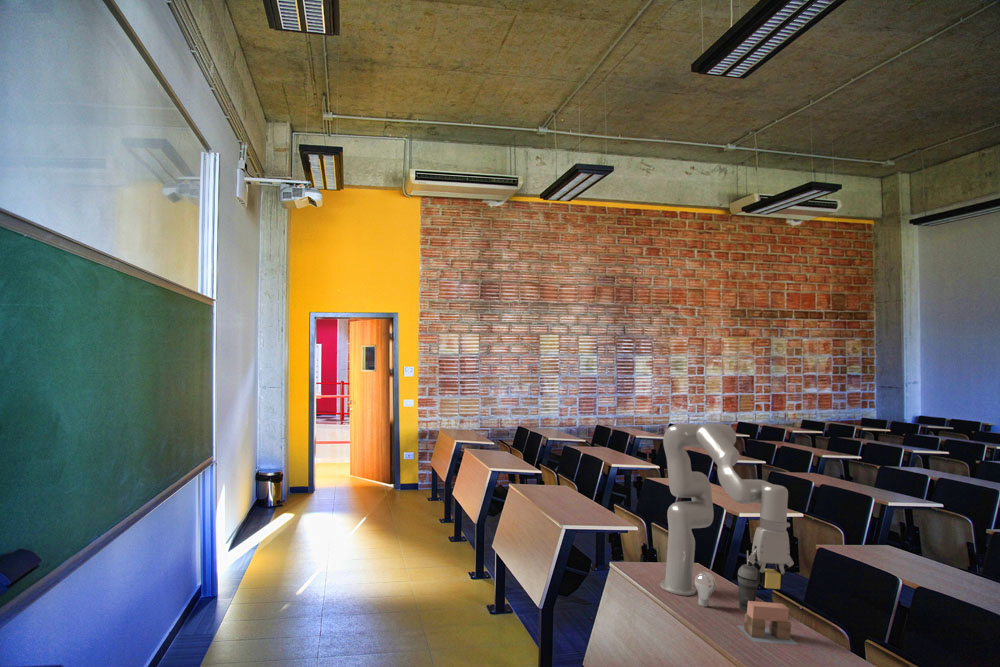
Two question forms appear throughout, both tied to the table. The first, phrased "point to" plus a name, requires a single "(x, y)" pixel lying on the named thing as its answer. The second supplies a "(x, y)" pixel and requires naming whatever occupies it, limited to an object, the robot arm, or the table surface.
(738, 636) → the table surface
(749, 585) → the beverage cup
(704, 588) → the light bulb
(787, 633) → the pier
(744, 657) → the table surface
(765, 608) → the beam
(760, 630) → the block
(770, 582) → the cube
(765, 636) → the board
